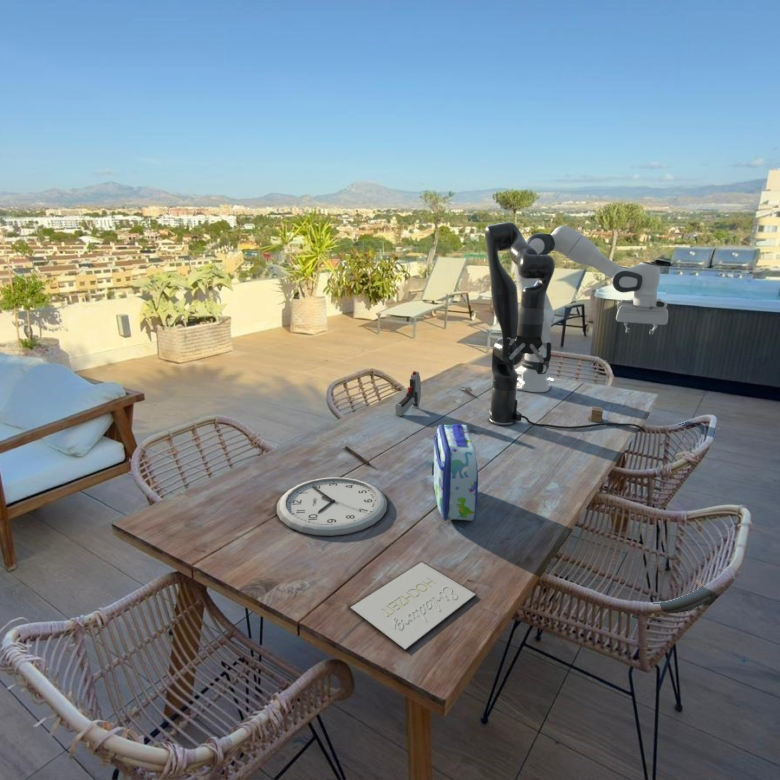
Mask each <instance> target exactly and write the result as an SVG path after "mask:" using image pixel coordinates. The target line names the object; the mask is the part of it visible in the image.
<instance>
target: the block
mask: <svg viewBox="0 0 780 780" xmlns="http://www.w3.org/2000/svg"><path fill="white" fill-rule="evenodd" d="M603 413H604V409H603V407H600V406H591V411H590V422H594V423H602V420H603V415H604V414H603Z"/></svg>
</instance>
